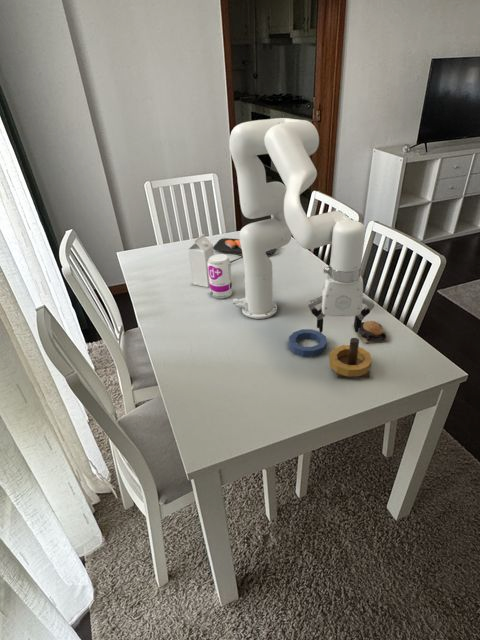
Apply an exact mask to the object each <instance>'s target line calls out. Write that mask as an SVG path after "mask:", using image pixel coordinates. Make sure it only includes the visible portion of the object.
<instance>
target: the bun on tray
mask: <svg viewBox="0 0 480 640" xmlns="http://www.w3.org/2000/svg"><path fill="white" fill-rule="evenodd" d="M357 334H358V335H359V336H360V339H362V341H363V342H364V344H378V343H379V344H380V343H386V342H388V341H389V339H388V338H387V334H386V333H385V332H384V329H383V326H382V324H380V323H379V322H377V321H375V320H367V321H362V323H361V328H359V330H358V332H357Z"/></svg>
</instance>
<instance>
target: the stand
mask: <svg viewBox="0 0 480 640" xmlns="http://www.w3.org/2000/svg"><path fill="white" fill-rule="evenodd" d="M349 345H350V347H349V355H348V356H342V357H340V358H338V360H339V361H340V362H342V363H344V364H347V365H358V364H361V363H363V362H362V361H361V360H360V359H359V358H357V353H358V347H360V346H359V345H360V339H359V338H357V337H351V338H350V341H349ZM335 373H336V378H338V379H370V376H371V372H370V370H369V371H368V373H366V374H363V375H361V376H353V377H348V376H344V375H341V374H338V373H337V372H335Z"/></svg>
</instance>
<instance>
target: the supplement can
mask: <svg viewBox="0 0 480 640" xmlns="http://www.w3.org/2000/svg"><path fill="white" fill-rule="evenodd" d="M230 261H231V259H230V258H229V256H228V255H227V254H225V253H214V255H211V256H210V257H209V260H208V262H207V263H208V272H209V282H210V286H209V289H210V291H209V292H210V295H211V296H212V297H213V298H215V299H226V298H229V297H230V296H231V295H232V294H233V282H232V270H231V267H232V266H231V263H230Z"/></svg>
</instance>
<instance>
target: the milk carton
mask: <svg viewBox="0 0 480 640" xmlns="http://www.w3.org/2000/svg"><path fill="white" fill-rule="evenodd" d="M213 247H214V244H213V243H212V242H211V241H210V240H209V239H208V238H207V237H206V235H205V233H203V234H201V235H200V236H199V237H197V238H195V239H194V243H193V244H191V246H190V247H189V248H188V249H187V251H188V252H187V253H188V259H189V267H190V273H191V274H190V275H191V281H192V285H193V286H199V287H205V288H210V282H209V272H208V263H207V262H208V260H209V257H210V256H211V255H214V254H215V250H214V249H213Z"/></svg>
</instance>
